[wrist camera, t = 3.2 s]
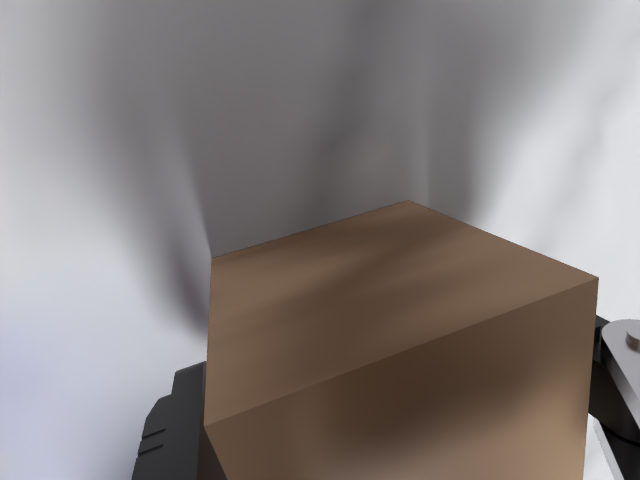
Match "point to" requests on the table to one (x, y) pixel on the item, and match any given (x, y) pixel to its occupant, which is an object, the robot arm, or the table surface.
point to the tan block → (398, 355)
